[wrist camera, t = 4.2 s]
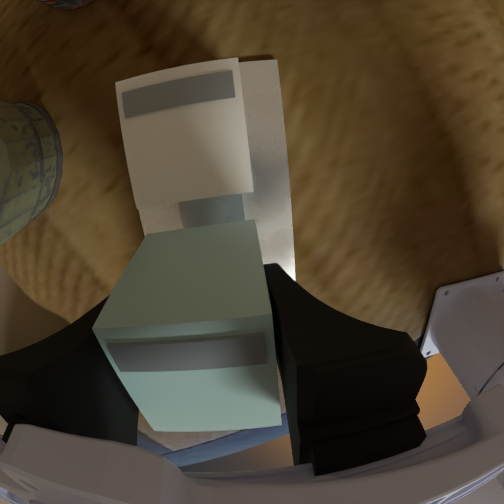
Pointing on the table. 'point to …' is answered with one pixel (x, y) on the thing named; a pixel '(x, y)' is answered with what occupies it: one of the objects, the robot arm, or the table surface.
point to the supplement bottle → (65, 3)
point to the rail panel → (263, 175)
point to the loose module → (195, 330)
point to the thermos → (26, 165)
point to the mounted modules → (185, 133)
